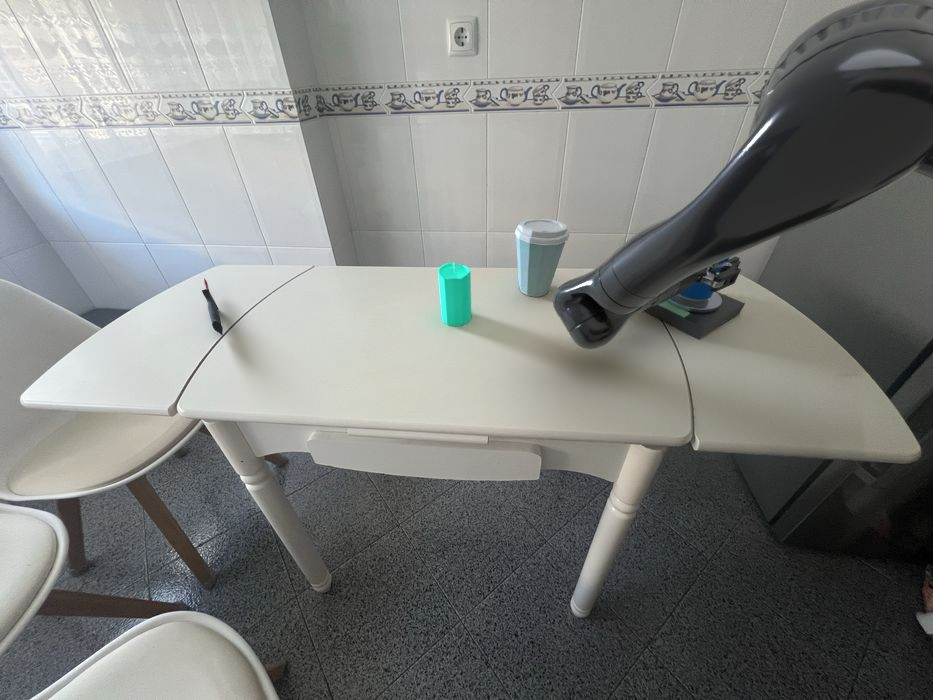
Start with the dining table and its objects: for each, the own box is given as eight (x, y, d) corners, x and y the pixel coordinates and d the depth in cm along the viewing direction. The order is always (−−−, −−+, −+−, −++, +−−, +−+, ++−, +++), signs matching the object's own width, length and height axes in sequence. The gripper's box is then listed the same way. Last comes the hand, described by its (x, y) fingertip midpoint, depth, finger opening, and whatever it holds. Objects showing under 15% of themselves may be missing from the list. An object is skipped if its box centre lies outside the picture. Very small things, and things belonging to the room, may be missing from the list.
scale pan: (700, 283, 75) (702, 280, 75) (732, 311, 67) (734, 307, 67) (652, 286, 75) (653, 282, 75) (677, 314, 67) (679, 310, 67)
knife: (227, 336, 70) (215, 314, 67) (219, 339, 69) (206, 317, 66) (213, 286, 85) (202, 267, 82) (206, 288, 85) (195, 269, 81)
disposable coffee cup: (511, 277, 85) (515, 213, 75) (557, 278, 84) (568, 213, 74) (511, 301, 77) (515, 232, 67) (562, 303, 76) (574, 233, 66)
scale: (699, 339, 66) (705, 327, 64) (633, 305, 75) (636, 294, 73) (739, 314, 71) (745, 302, 70) (673, 285, 80) (677, 274, 79)
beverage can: (706, 307, 67) (735, 245, 59) (669, 296, 70) (692, 236, 63) (713, 292, 71) (741, 232, 63) (677, 283, 74) (700, 225, 66)
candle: (437, 313, 74) (432, 259, 66) (463, 306, 76) (461, 252, 68) (448, 329, 70) (444, 273, 62) (476, 321, 72) (476, 265, 64)
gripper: (708, 275, 52) (764, 247, 59) (625, 243, 61) (681, 221, 68) (689, 318, 57) (742, 288, 63) (614, 282, 66) (668, 259, 73)
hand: (711, 253), depth 66 cm, fingers open, 8 cm apart
